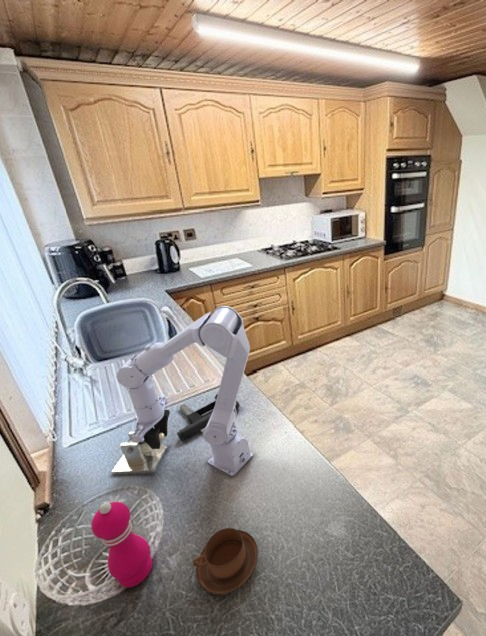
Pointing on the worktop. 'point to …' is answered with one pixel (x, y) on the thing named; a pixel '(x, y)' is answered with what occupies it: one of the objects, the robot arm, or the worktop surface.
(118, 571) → the pepper mill
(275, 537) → the worktop surface
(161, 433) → the lever
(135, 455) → the bracket
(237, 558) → the cup and saucer
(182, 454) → the worktop surface
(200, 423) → the door handle
